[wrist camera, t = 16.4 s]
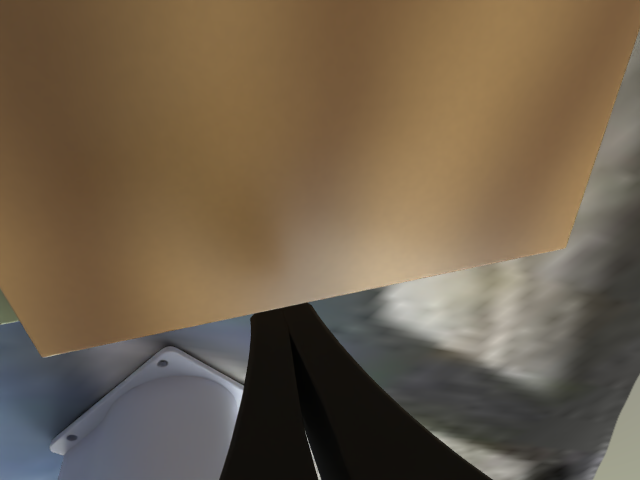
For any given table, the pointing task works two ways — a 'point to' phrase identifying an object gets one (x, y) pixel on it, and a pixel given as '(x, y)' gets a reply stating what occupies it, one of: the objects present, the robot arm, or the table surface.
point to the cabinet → (285, 149)
